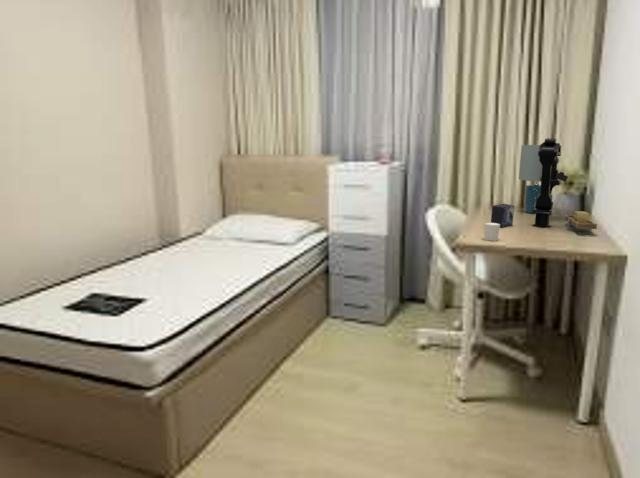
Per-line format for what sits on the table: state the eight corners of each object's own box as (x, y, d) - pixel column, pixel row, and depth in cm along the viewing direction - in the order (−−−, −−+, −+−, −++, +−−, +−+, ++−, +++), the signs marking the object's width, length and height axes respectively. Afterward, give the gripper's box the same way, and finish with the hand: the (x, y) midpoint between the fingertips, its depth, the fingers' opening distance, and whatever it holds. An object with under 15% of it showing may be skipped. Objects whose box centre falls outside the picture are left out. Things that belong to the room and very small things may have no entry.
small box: (501, 228, 264) (503, 207, 262) (489, 226, 269) (491, 205, 267) (513, 225, 271) (515, 205, 268) (501, 223, 276) (503, 203, 273)
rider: (588, 223, 255) (589, 213, 254) (576, 222, 256) (577, 213, 255) (584, 220, 262) (585, 211, 261) (573, 220, 263) (574, 211, 262)
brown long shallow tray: (596, 229, 246) (597, 224, 246) (577, 228, 248) (577, 223, 247) (581, 220, 271) (581, 215, 271) (563, 219, 273) (564, 215, 272)
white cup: (488, 241, 235) (489, 225, 234) (479, 238, 242) (480, 222, 240) (502, 240, 237) (503, 224, 236) (493, 237, 244) (494, 222, 242)
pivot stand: (599, 236, 247) (600, 226, 246) (572, 234, 249) (573, 225, 248) (584, 225, 271) (585, 216, 270) (560, 224, 273) (561, 215, 272)
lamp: (519, 214, 301) (525, 146, 293) (512, 209, 320) (518, 144, 311) (556, 215, 298) (563, 146, 290) (546, 210, 317) (553, 145, 309)
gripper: (571, 169, 272) (568, 200, 275) (563, 166, 289) (560, 195, 293) (548, 168, 274) (545, 199, 277) (541, 165, 292) (538, 194, 295)
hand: (548, 197), depth 285 cm, fingers closed
